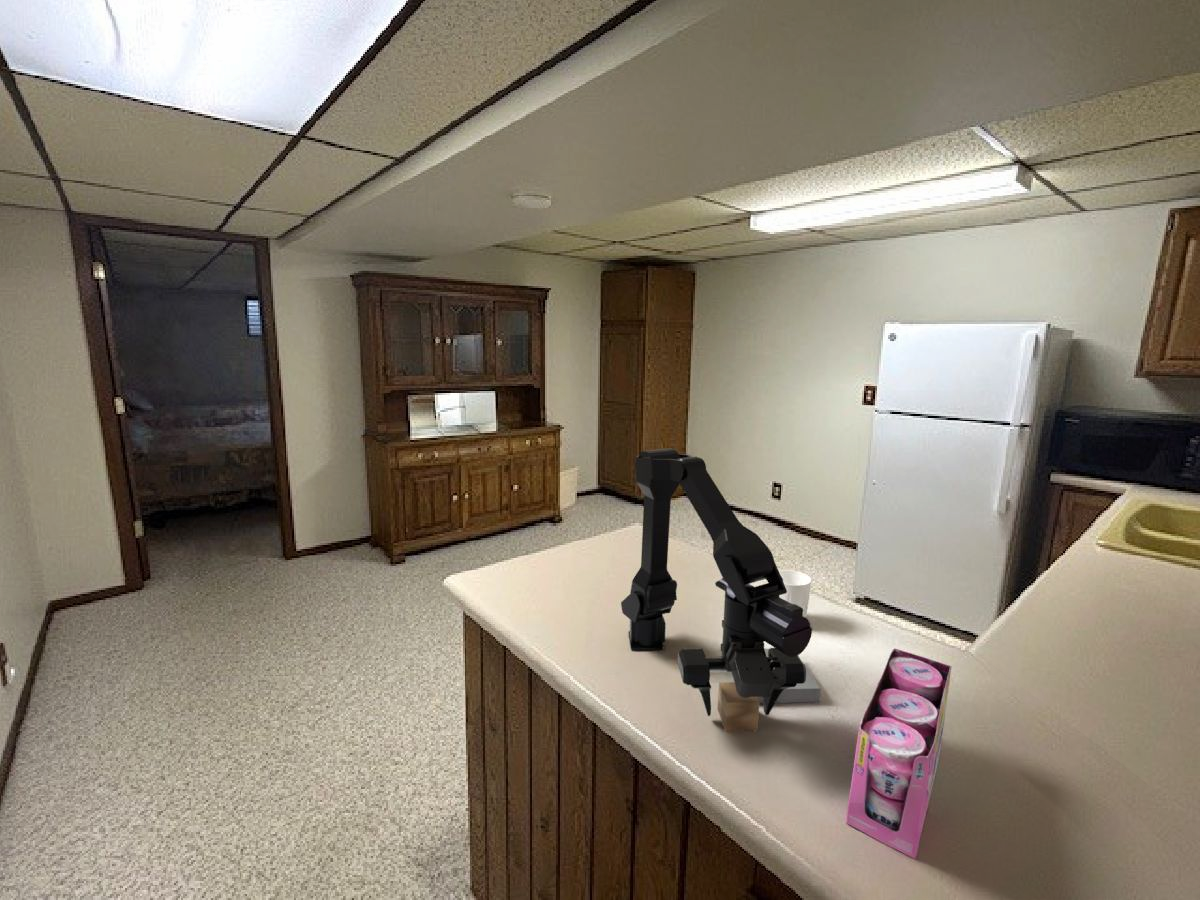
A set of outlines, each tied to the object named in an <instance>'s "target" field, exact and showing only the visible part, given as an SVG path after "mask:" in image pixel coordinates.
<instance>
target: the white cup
mask: <svg viewBox="0 0 1200 900" xmlns="http://www.w3.org/2000/svg"><path fill="white" fill-rule="evenodd" d="M778 571H779V573H780V575H781V577H782V579H783V583H784V585H785V587H786V590H787V593H786V594H782V595H779V597H780V598H782V599H783V600H785V601H787V602H789V603H791V604H795V605H798V606H800V607H801V608H802V609H803V616H804V617H806V618H807V612H808V609H809V603H810V602H809V601H810V593H811V589H812V588H811V587H812V578H811V577H810V576H809V575H807V574H806V573H804V572H801V571H797V570H794V569H778Z"/></svg>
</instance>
